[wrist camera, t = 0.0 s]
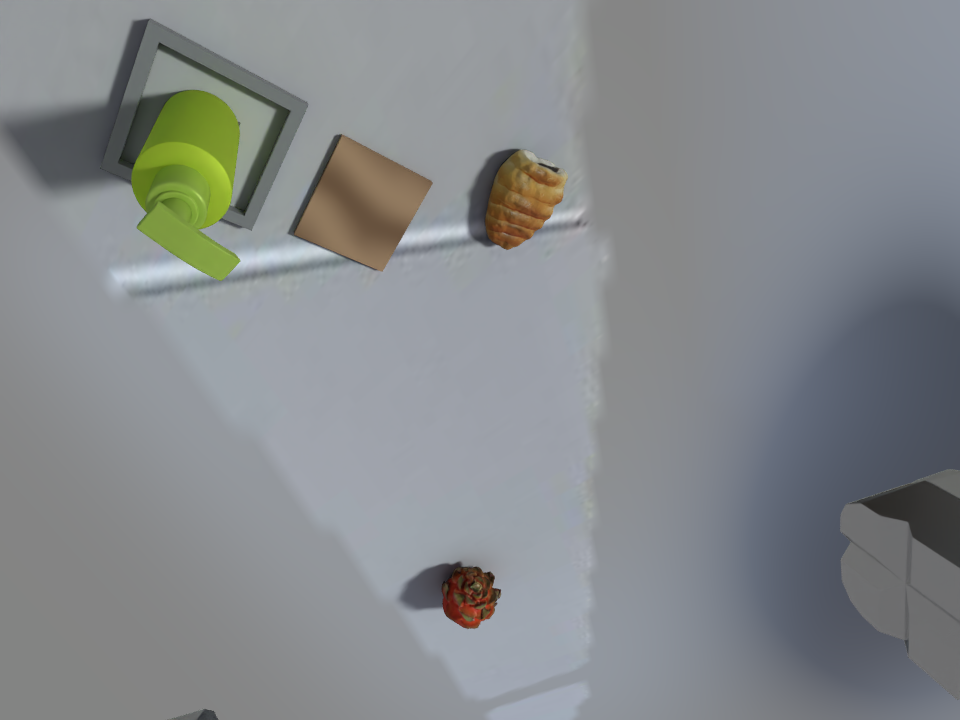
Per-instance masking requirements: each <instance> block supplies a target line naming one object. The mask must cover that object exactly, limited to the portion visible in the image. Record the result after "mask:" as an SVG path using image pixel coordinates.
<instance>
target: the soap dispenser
mask: <svg viewBox="0 0 960 720" xmlns="http://www.w3.org/2000/svg"><path fill="white" fill-rule="evenodd" d="M239 137H240V131H239V125H238V122H237V119H236V117H235V115H234V113H233V112H232V110H231V109H230V108H229V106H228V105H227V104H226V103H225V102H223V101H222V100H221V99H219V98H218V97H216V96H214V95H212V94H210V93H207V92H204V91H199V90H187V91H183V92H180V93H177V94H175V95H174V96H172V97H171V98H170V99H169V100H168V101H167V102H166V103H165V105H164V106H163V108H162V110H161V112H160V114H159V116H158V118H157V120H156V122H155V124H154V126H153V128H152V130H151V132H150V134H149V136H148V138H147V140H146V142H145V144H144V146H143V148H142V150H141V152H140V154H139V156H138V158H137V160H136V162H135V164H134V167H133V170H132V177H131V181H132V188H133V192H134V194H135V197H136V199H137V201H138V202H139V204H140V205H141V207H142V208H143V209H144V210H145V211H146V212H147V214H146V215H145V217H144V218H143V219H142V220H141V221H140V222H139V224H138V225H137V229H138V230H140V231H141V232H142V233H144V234H145V235H147V236H148V237H149V238H151V239H152V240H154V241H155V242H156V243H158V244H159V245H161V246H162V247H164V248H165V249H166V250H168V251H169V252H171V253H172V254H174V255H175V256H177V257H178V258H180V259H181V260H183V261H184V262H186V263H188V264H189V265H191V266H193V267H194V268H196V269H198V270H200V271H201V272H203V273H205V274H207V275H209V276H211V277H213V278H215V279H217V280H219V281H222V280H223V279H224V278H225V277H226V276H227V275H228V274H229V273H230V272H231V271H232V270H233V269H234V268H235V267H236V265H237V264H238V263H239V262H240V259H239V258H238V257H237V255H236V254H234V253H233V252H231V251H230V250H228V249H226V248H224V247H223V246H221V245H220V244H218V243H217V242H215V241H214V240H212V239H211V238H209V237H208V236H206V235H205V234H203V233H202V232H201V231H199V230H198V229H203V228H206V227H209V226H211V225H213V224H215V223H216V222H217V221H219V220H220V219H221V218H222V217H223V216H224V215H225V213H226V212H227V210H228V208H229V206H230V203H231V198H232V190H233V183H234V175H235V168H236V160H237V152H238V145H239Z"/></svg>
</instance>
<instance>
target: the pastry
mask: <svg viewBox="0 0 960 720" xmlns="http://www.w3.org/2000/svg"><path fill="white" fill-rule="evenodd" d="M567 178H568V175H567V173H566V172H565V170H563V169H560V168H557V167H555V165H554V164H553V163H552V162H549V161H548V160H544V159H541V158H537V157H536V156H535V155H534V154H533V153H532V152H530V151H527V150H519V151H517V152H515V153H514V154H513V155H511V156H510V157H509V158H508V159H507V160H506V161H505V162H504V163H503V164H502V165H501V167H500V168H499V170H498V172H497V174H496V176H495V179H494V184H493V186H492V190H491V193H490V197H489V202H488V208H487V212H486V218H485V226H486V231H487V234H488V237H489V239H490V240H491V241H492V242H494V243H495V244H497V245H499V246H501V247H502V248H504V249H506V250H509V249H511V248H513V247H517V246H519V245H520V244H521V243H523V242H524V241H525V240H527V239H530V238H531V237H532V236H533V234H534V232H535V231H536V230H538V229H541V228H542V226H543V224H544V222H545V221H546V220H547V219H549V218H550V217H551V215H552V213H553V208H554V206H555V205H556V204H558V203H560V202H561V201H562V198H563V189H564V185H565V182H566V180H567Z"/></svg>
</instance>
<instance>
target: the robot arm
mask: <svg viewBox="0 0 960 720" xmlns="http://www.w3.org/2000/svg"><path fill="white" fill-rule="evenodd" d="M840 527H841V528H840V531H841V532H842V533H843V534H844V535H845V536H846V537H847V538H848V539H849V540H850V541H851V543H850V544H849V546H848V548H847V550H846V551H845V553H844V555H843V557H842V559H841V572H842V582H843V584H844V586H845V588H846V591H847V593H848V596H849V598H850V600H851V602H852V603H853V604H854V606H855V607H856V609H857V610H858V611H859V612H860V614H861V615H862V616H863V617H864V618H865V619H866V620H867V621H868V622H869V623H870V624H871V625H872V626H874V627H875V628H876V629H877V630H878V631H880V632H882V633H885V634H888V635H891V636H894V637H897V638H899V639H902V640H904V641H905V645H906V649H907V653H908V657H909V658H910V659H911V660H912V661H913V662H914V663H915V664H917V665H918V666H919V667H920V668H921V669H922V670H923V671H925V672H926V673H927V674H928V675H929V676H930V677H931V678H933V679H934V680H935V681H936V682H937V683H938V684H939V685H941V686H942V687H943V688H944V689H945V690H947V691H948V692H949V693H950V694H951V695H952V696H953V697H954V698H956V699H957V700H959V699H960V471H957V470H950V469H948V470H945V471H942V472H939V473H937V474H933V475H930V476H928V477H925V478H922V479H919V480H916V481H914V482H913V483H909V484H906V485H903V486H900V487H897V488H894V489H891V490H888V491H885V492H881V493H878V494H875V495H873V496H869V497H866V498H863V499H860V500H857V501H854V502H851V503H848V504H846V505H845V507H844V509H843V511H842V513H841V526H840ZM169 720H218V718H217V716H216V714H215V712H214V711H212V710H207V709H203V710H200V711H196V712H193V713H189V714H186V715H183V716H179V717H176V718H172V719H169Z"/></svg>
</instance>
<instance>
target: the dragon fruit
mask: <svg viewBox="0 0 960 720" xmlns="http://www.w3.org/2000/svg"><path fill="white" fill-rule="evenodd" d="M494 579H495V576H494V575H493V574H492V573H491V572H488V573H483V572H482V570H481V568H479V567H473V568H470V567H468V568H461V567H459V568H456V569H455V570H454V572H453V574H452V578H449V579H448V580H447V582H446V583H445V581H444V583H443V584H442V589H441V590H442V593H443V596H444V598H443V603H442V604H443V609H444V613H445V614H446V616H447V617H448V618H449V619H451V620H453V621H454V622H456V623H457V624H459V625H460V626H462V627H464V628H467V629H469V628H472V629H474V628H478V626H479V625H480V622H481V621H484V620H485V619H490V617H491V616H492V615H493V613H494V611H495V608H494V607H495V606H496V605H497V602H496V601H497V598H498V599H499V598H500V596H501V589H496V588H492V586H493V583H494ZM495 602H496V603H495ZM494 603H495V604H494Z"/></svg>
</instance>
